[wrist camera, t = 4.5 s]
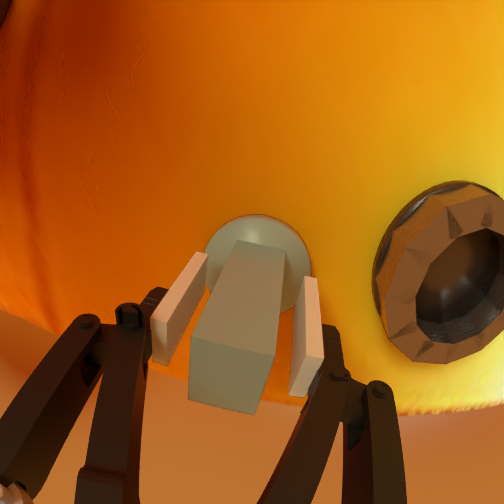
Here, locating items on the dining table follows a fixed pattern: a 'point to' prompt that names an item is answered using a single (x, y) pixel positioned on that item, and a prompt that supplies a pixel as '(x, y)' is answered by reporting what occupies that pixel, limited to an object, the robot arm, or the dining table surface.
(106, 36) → the dining table surface
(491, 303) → the barrel ring
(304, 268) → the toggle switch lever
